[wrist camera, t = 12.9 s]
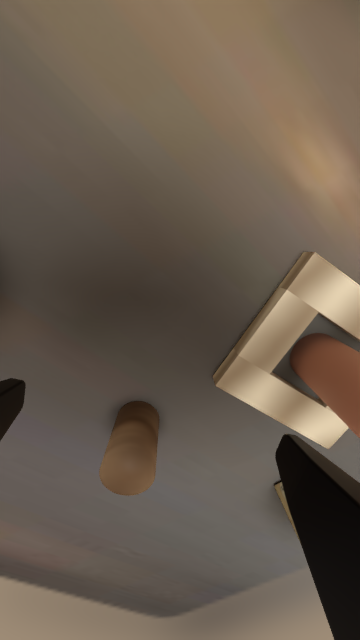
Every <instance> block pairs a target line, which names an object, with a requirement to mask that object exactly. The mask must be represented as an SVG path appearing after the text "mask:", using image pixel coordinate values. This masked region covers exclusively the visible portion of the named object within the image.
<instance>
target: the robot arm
mask: <svg viewBox="0 0 360 640" xmlns="http://www.w3.org/2000/svg"><path fill="white" fill-rule="evenodd" d="M24 395H25V382H24V381H23V380H18V379H13V378H10V379H7V380H3V381H0V441H1V439H2V438H3V436H4V435H5V433H6V432H7V430H8V429H9V427H10V426H11V424H12V423H13V421H14V420H15V418H16V417H17V415H18V414H19V412H20V411H21V409H22V407H23V404H24ZM276 462H277V466H278V470H279V474H280V478H281V482H282V486H283V490H284V493H285V497H286V501H287V504H288V508H289V511H290V514H291V517H292V520H293V522H294V525H295V528H296V531H297V534H298V537H299V540H300V543H301V545H302V548H303V551H304V554H305V557H306V560H307V563H308V565H309V568H310V571H311V574H312V577H313V580H314V583H315V585H316V588H317V591H318V594H319V597H320V600H321V603H322V606H323V608H324V611H325V614H326V617H327V620H328V623H329V625H330V628H331V631H332V634H333V637H334V640H360V483H359V482H357V481H356V480H355V479H353V478H352V477H351V476H349V475H348V474H347V473H345V472H344V471H343V470H341V469H340V468H339V467H338V466H336V465H335V464H334V463H332V462H331V461H330V460H328V459H327V458H326V457H324V456H323V455H322V454H320V453H319V452H318V451H316V450H315V449H314V448H312V447H311V446H310V445H308V444H307V443H306V442H304V441H303V440H302V439H300V438H299V437H298V436H296V435H291V434H284V435H283V437H282V439H281V441H280V444H279V446H278V448H277V450H276Z"/></svg>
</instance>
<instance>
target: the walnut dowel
mask: <svg viewBox="0 0 360 640" xmlns="http://www.w3.org/2000/svg"><path fill="white" fill-rule="evenodd" d="M158 430H159V415H158V412H157V411H156V409H155V408H154V407H153V406H152V405H150V404H148V403H146V402H142V401H134V402H130V403H127V404H126V405H124V406H123V407H122V408H121V409H120V411H119V412H118V415H117V418H116V421H115V424H114V427H113V430H112V433H111V436H110V440H109V443H108V446H107V449H106V452H105V455H104V458H103V461H102V464H101V467H100V471H99V475H100V479H101V481H102V483H103V485H104V486H105V487H106V488H107V489H109V490H110V491H112V492H114V493H116V494H120V495H136V494H139V493H142V492H144V491H145V490H147V489H148V488H149V487H150V486H151V485H152V483H153V481H154V479H155V470H156V457H157V443H158Z"/></svg>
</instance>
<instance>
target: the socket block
mask: <svg viewBox="0 0 360 640" xmlns="http://www.w3.org/2000/svg"><path fill="white" fill-rule="evenodd" d="M313 333H323V334H327V335H329V336H331V337H333V338H334V339H336V340H338V341H340V342H342V343H343V344H345V345H347V346H349V347H351V348H352V349H354V350H356V351H358V352H359V353H360V285H359V284H357V283H356V282H355V281H353V280H352V279H351V278H349V277H348V276H347V275H345V274H344V273H343V272H341V271H340V270H338V269H337V268H336V267H334V266H333V265H332V264H330V263H329V262H328V261H326V260H325V259H324V258H322V257H321V256H320V255H318V254H317V253H316V252H303V254H302V255H301V256H300V258H299V259H298V261H297V262H296V263H295V265H294V266H293V267H292V269H291V270H290V271H289V273H288V274H287V276H286V277H285V278H284V280H283V281H282V282H281V284H280V285H279V286H278V288H277V289H276V291H275V292H274V293H273V295H272V296H271V297H270V299H269V300H268V302H267V303H266V304H265V306H264V307H263V308H262V310H261V311H260V312H259V314H258V315H257V317H256V318H255V319H254V321H253V322H252V323H251V325H250V326H249V327H248V329H247V330H246V332H245V333H244V334H243V336H242V337H241V338H240V340H239V341H238V342H237V344H236V345H235V347H234V348H233V349H232V351H231V352H230V353H229V355H228V356H227V357H226V359H225V360H224V362H223V363H222V364H221V366H220V367H219V368H218V370H217V371H216V372H215V374H214V375H213V379H214V382H215V386H217V387H219V388H221V389H222V390H224V391H226V392H228V393H229V394H231V395H233V396H235V397H236V398H238V399H240V400H242V401H244V402H245V403H247V404H249V405H251V406H252V407H254V408H256V409H258V410H260V411H261V412H263V413H265V414H267V415H268V416H270V417H272V418H274V419H276V420H277V421H279V422H281V423H283V424H284V425H286V426H288V427H290V428H291V429H293V430H295V431H297V432H299V433H300V434H302V435H304V436H306V437H307V438H309V439H311V440H313V441H315V442H316V443H318V444H320V445H322V446H323V447H325V448H327V449H329V448H330V447H331V446H332V445H333V444H334V443H335V442H336V441H337V440H338V439H339V438H340V436H341V435H342V434H343V433H344V432H345V431H346V430H347V429H348V428H349V427H348V426H347V425H346V424H345V423H344V422H343V421H342V420H341V419H340V418H339V417H338V416H337V415H336V414H335V413H334V412H333V411H332V410H331V409H330V408H329V407H328V406H327V405H326V404H325V402H324V401H323V400H322V399H321V398H320V397H319V396H318V395H317V394H316V393H315V392H314V391H313V390H312V389H311V388H310V387H309V386H308V385H307V384H306V383H305V382H304V381H303V380H302V379H301V378H300V377H299V376H298V375H297V374H296V373H295V372H294V371H293V369H292V367H291V365H290V354H291V351H292V349H293V347H294V345H295V344H296V343H297V342H298V341H299V340H300V339H302V338H303V337H305V336H307V335H309V334H313Z"/></svg>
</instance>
